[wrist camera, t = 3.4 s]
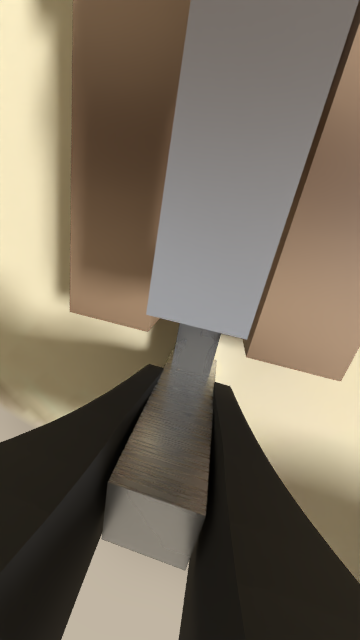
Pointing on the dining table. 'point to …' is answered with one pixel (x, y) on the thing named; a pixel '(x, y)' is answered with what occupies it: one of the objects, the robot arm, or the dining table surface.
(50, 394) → the dining table surface
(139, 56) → the vise
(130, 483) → the grey l-shaped block
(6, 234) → the dining table surface
